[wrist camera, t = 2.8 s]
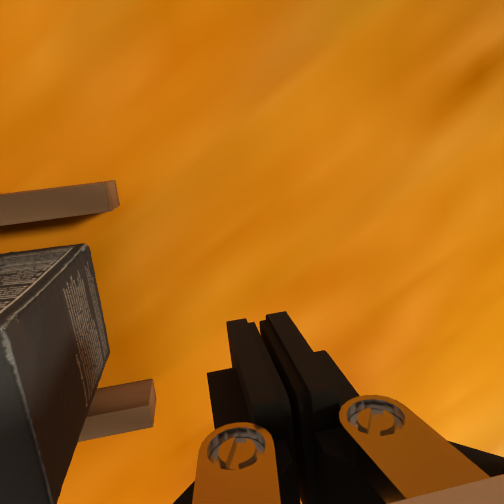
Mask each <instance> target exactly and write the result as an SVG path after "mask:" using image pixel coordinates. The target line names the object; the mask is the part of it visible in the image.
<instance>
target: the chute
mask: <svg viewBox="0 0 504 504" xmlns="http://www.w3.org/2000/svg"><path fill="white" fill-rule="evenodd" d="M119 205H120V204H119V199H118V194H117V188H116V183H115V180H114V181H105V182H97V183H89V184H81V185H72V186H64V187H56V188H48V189H40V190H31V191H23V192H15V193H7V194H0V226H2V225H10V224H18V223H25V222H33V221H41V220H48V219H56V218H63V217H71V216H79V215H86V214H94V213H102V212H109V211H112V210H114V209H115V208H116V207H118V206H119ZM155 405H156V395H155V389H154V384H153V379H149V380H143V381H138V382H133V383H127V384H122V385H116V386H111V387H105V388H100V389H96V392H95V395H94V397H93V400H92V403H91V405H90V408H89V411H88V414H87V417H86V420H85V422H84V425H83V428H82V431H81V434H80V436H79V439H78V442H80V441H85V440H90V439H95V438H100V437H105V436H110V435H115V434H120V433H125V432H130V431H135V430H140V429H145V428H150V427H153V423H154V414H155Z"/></svg>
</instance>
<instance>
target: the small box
mask: <svg viewBox="0 0 504 504" xmlns="http://www.w3.org/2000/svg"><path fill="white" fill-rule="evenodd" d="M109 354H110V349H109V344H108V339H107V333H106V327H105V323H104V318H103V312H102V308H101V302H100V297H99V293H98V288H97V283H96V278H95V272H94V267H93V263H92V258H91V252H90V249H89V246H88V245H86V244H84V243H83V244H76V245H69V246H59V247H50V248H43V249H35V250H29V251H20V252H10V253H5V254H0V504H57V501H58V498H59V496H60V492H61V488H62V484H63V482H64V479H65V476H66V474H67V471H68V468H69V465H70V463H71V460H72V456H73V453H74V450H75V448H76V445H77V443H78V439H79V436H80V434H81V431H82V428H83V425H84V422H85V420H86V417H87V414H88V411H89V408H90V405H91V403H92V400H93V397H94V395H95V392H96V389H97V387H98V383H99V381H100V378H101V375H102V372H103V369H104V367H105V364H106V361H107V359H108V357H109Z"/></svg>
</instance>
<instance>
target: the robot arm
mask: <svg viewBox="0 0 504 504" xmlns="http://www.w3.org/2000/svg"><path fill="white" fill-rule="evenodd" d="M227 332H228V339H229V347H230V354H231V361H232V368H229V369H224V370H219V371H214V372H209V373H207V378H208V385H209V392H210V399H211V406H212V413H213V420H214V427H215V430H214V431H213V432H212V433H210V434H209V435H208V436H207V437H206V438H205V439H204V441H203V442H202V444H201V447H200V450H199V454H198V462H197V470H196V477H195V481H194V482H193V483H192V484H191V485H190V486H189V487H188V488H187V489H186V490H185V491H184V493H183V494H182V495H181V496H180V497H179V498H178V499H177V500H176V501H175V502H174V503H173V504H300V499H301V501H302V504H504V457H501V456H497V455H494V454H490V453H487V452H484V451H480V450H477V449H473V448H470V447H467V446H463V445H460V444H457V443H453V442H450V441H447V440H446V439H444V438H443V437H442V436H441V435H440V434H438V433H437V432H436V431H435V430H434V429H432V428H431V427H430V426H429V425H428V424H426V423H425V422H424V421H423V420H422V419H420V418H419V417H418V416H417V415H416V414H414V413H413V412H412V411H411V410H410V409H408V408H407V407H406V406H405V405H403V404H402V403H400V402H398V401H397V400H394V399H391V398H389V397H385V396H379V395H364V396H359V394H358V393H357V392H356V390H355V389H354V388H353V386H352V385H351V384H350V382H349V381H348V380H347V378H346V377H345V376H344V374H343V373H342V372H341V370H340V369H339V368H338V366H337V365H336V364H335V362H334V361H333V360H332V358H331V357H330V356H329V354H328V353H327V352H326V351H325V350H322V351H317V352H313V350H312V349H311V348H310V346H309V345H308V343H307V342H306V340H305V339H304V337H303V336H302V334H301V333H300V331H299V330H298V329H297V327H296V326H295V324H294V323H293V321H292V320H291V318H290V317H289V315H288V314H287V312H286V311H284V312H278V313H273V314H267V315H266V320H263V321H260V333H261V335H260V333H259V331H258V329H257V327H256V325H255V323H254V322H251V323H248V322H247V320H246V318H245V319H239V320H233V321H228V322H227Z"/></svg>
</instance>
